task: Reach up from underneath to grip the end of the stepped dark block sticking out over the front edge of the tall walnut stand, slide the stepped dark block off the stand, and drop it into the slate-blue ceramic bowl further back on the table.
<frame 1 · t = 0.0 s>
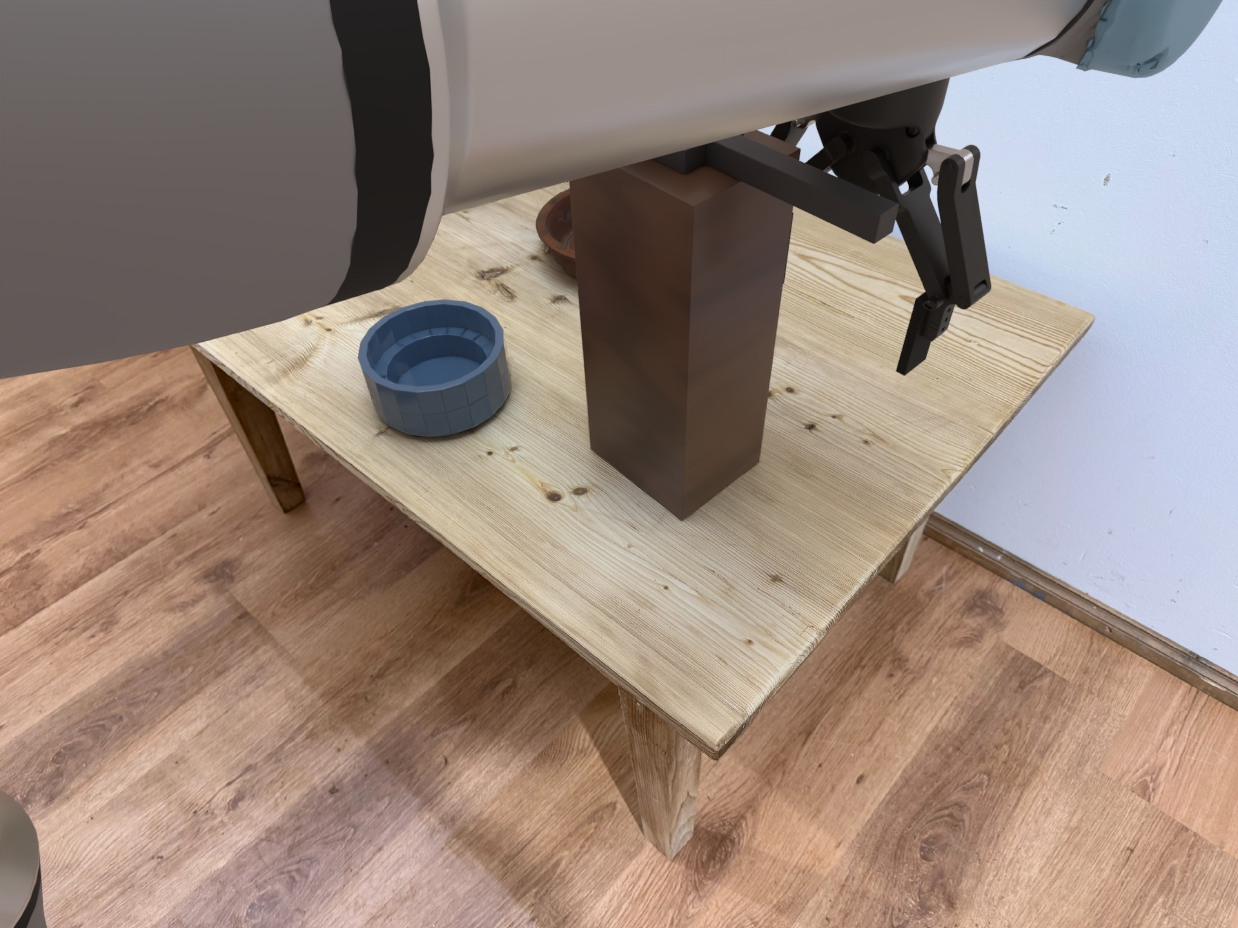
hand: (836, 325, 66), 15 cm above the table, tool pointing down, fingers open, 13 cm apart
bread roll: (581, 163, 116), on the table
dish: (614, 256, 101), on the table
stand: (674, 455, 78), on the table
stepped dark block: (743, 173, 53), point 30 cm above the table, touching stand
onion: (464, 193, 112), on the table
bowl: (443, 393, 85), on the table
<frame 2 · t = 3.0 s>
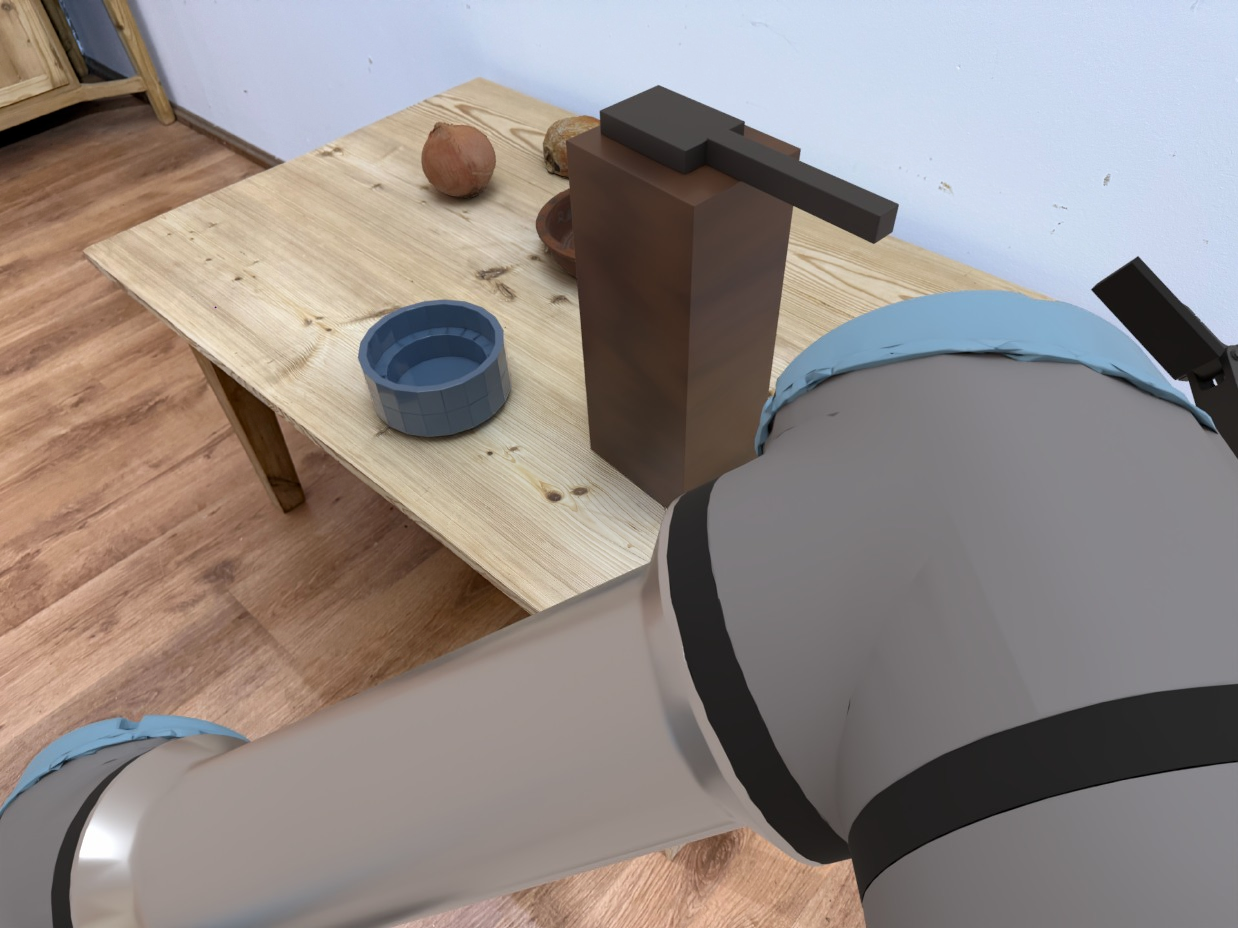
hand: (1050, 334, 42), 30 cm above the table, tool pointing upward, fingers open, 13 cm apart
nothing on the table moved.
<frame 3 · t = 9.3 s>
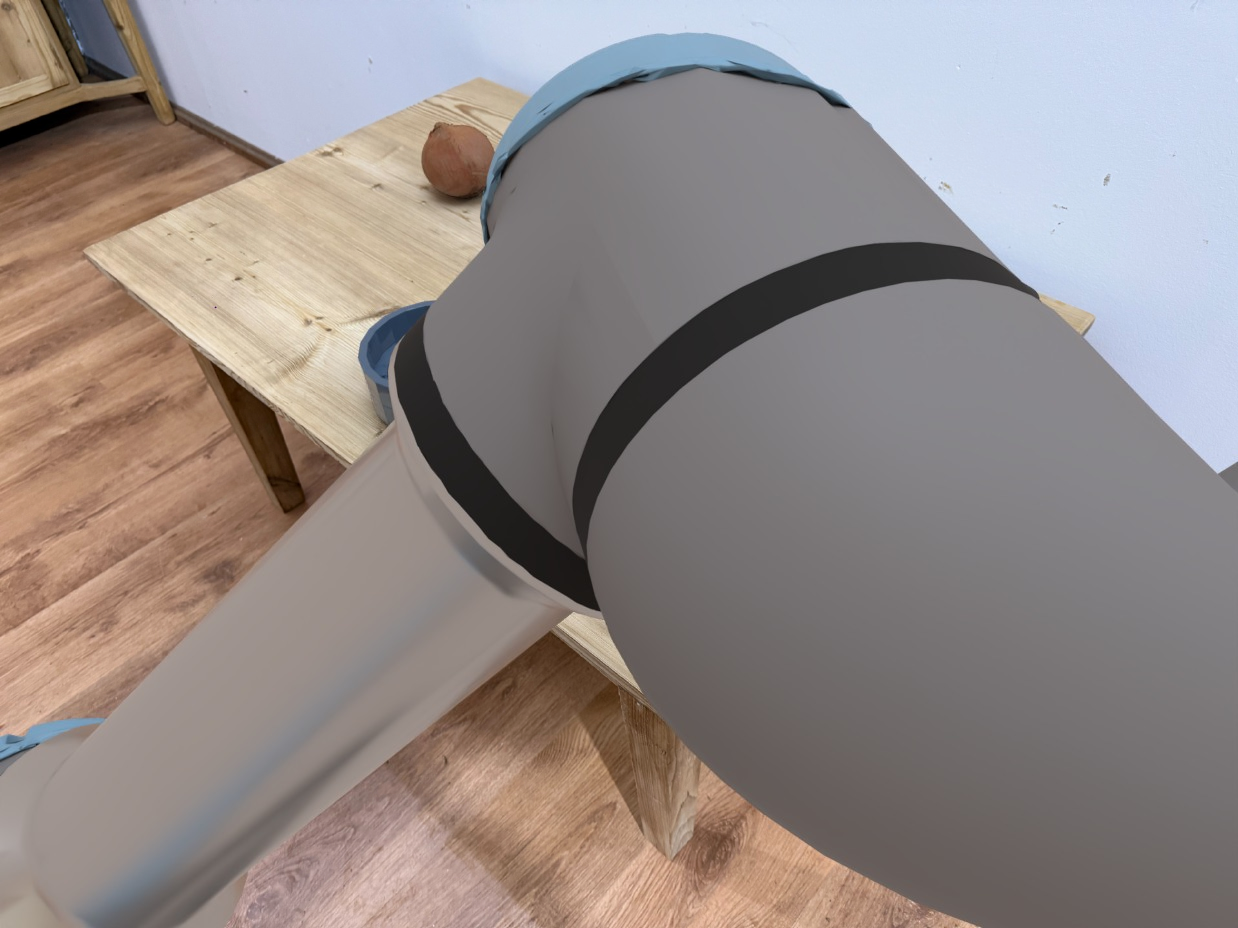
hand: (783, 131, 49), 34 cm above the table, tool pointing upward, fingers closed on stepped dark block, 2 cm apart
stepped dark block: (743, 173, 53), point 30 cm above the table, touching gripper, stand
everything else where it was.
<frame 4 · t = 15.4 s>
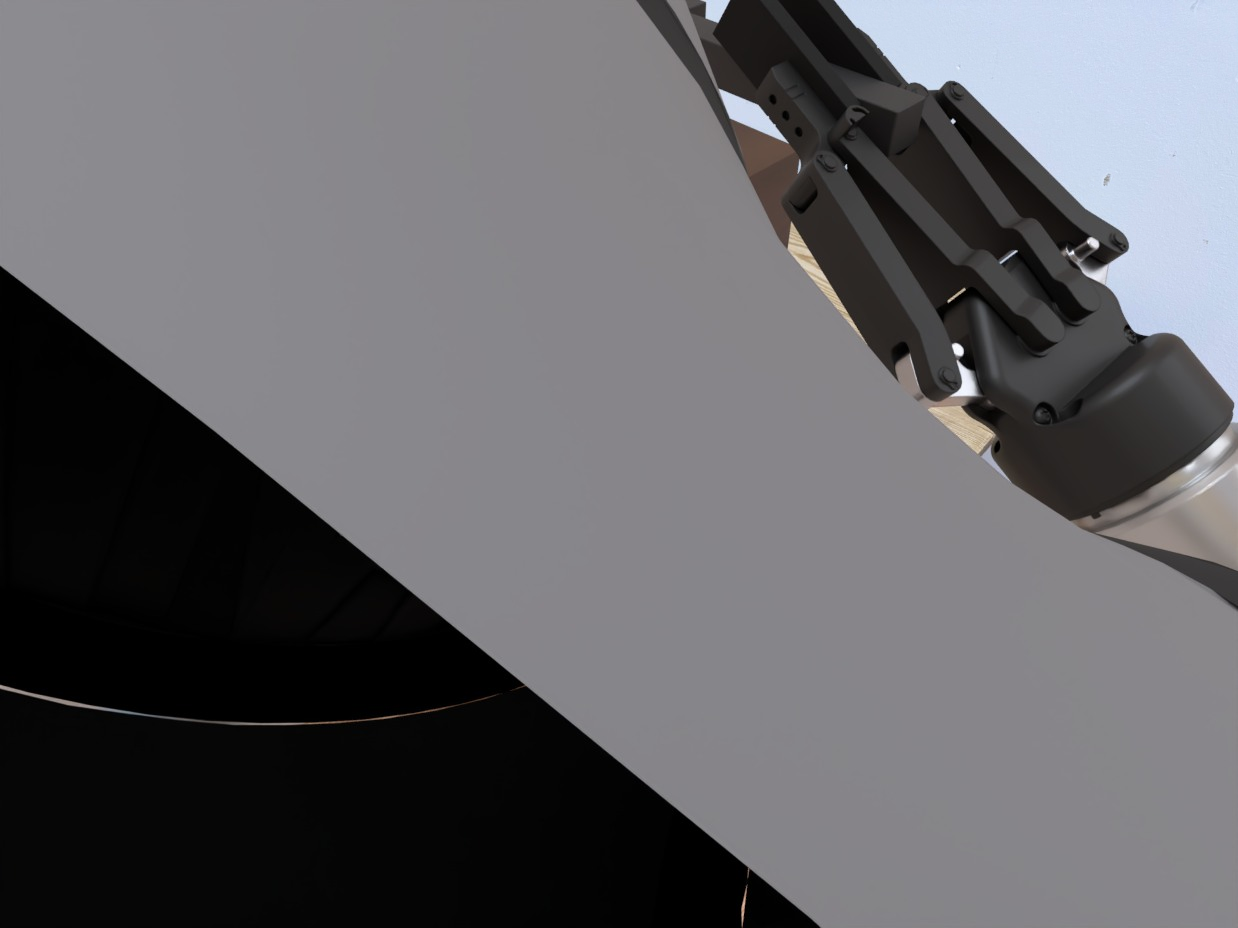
stepped dark block: (702, 71, 38), point 41 cm above the table, touching gripper
everything else where it was.
when the fingers open (40 cm above the table, at t = 21.4 s): stepped dark block drops 29 cm and tips over, resting on bowl.
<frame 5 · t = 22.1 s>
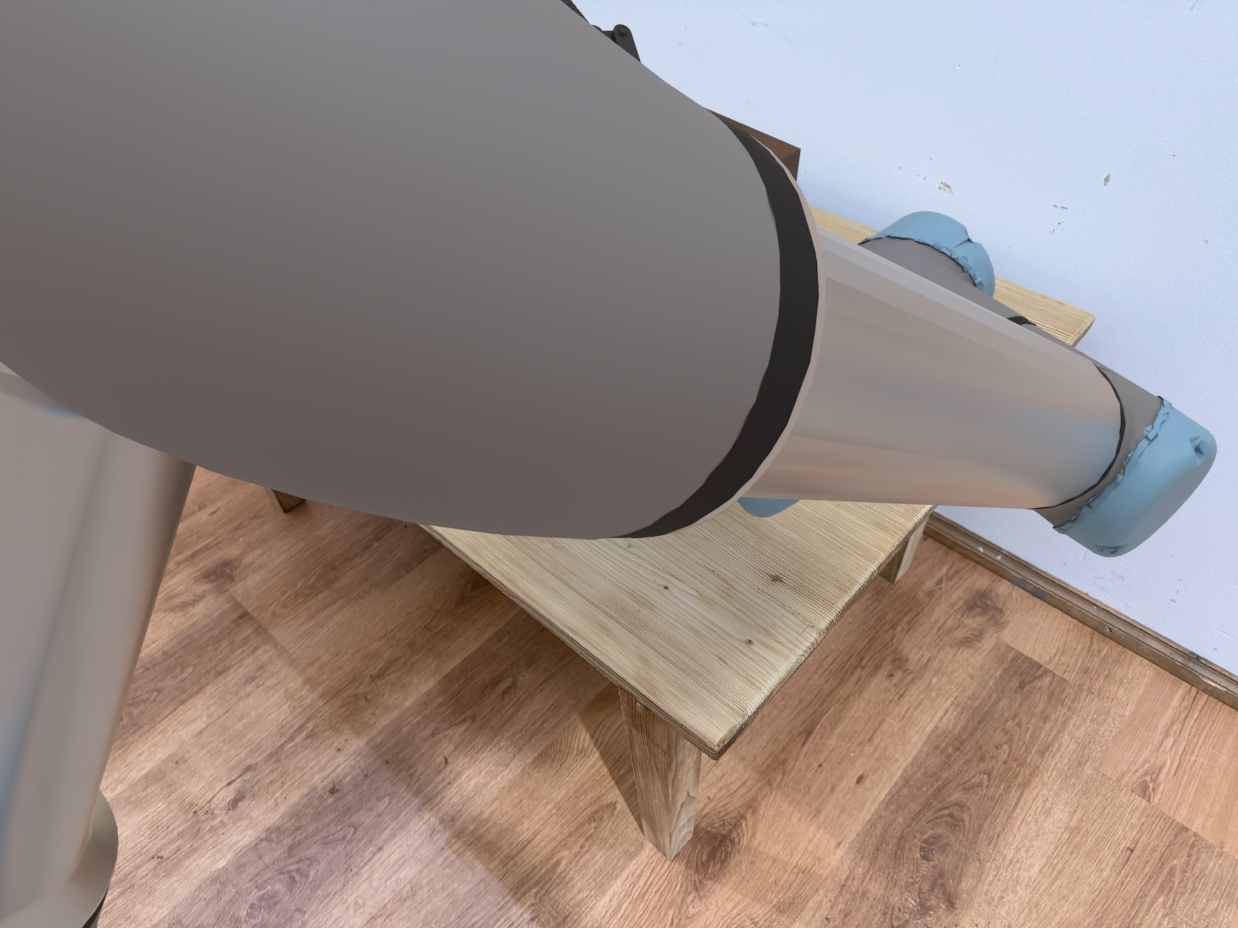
stepped dark block: (462, 376, 76), point 7 cm above the table, tilted 34°, touching bowl
everything else where it was.
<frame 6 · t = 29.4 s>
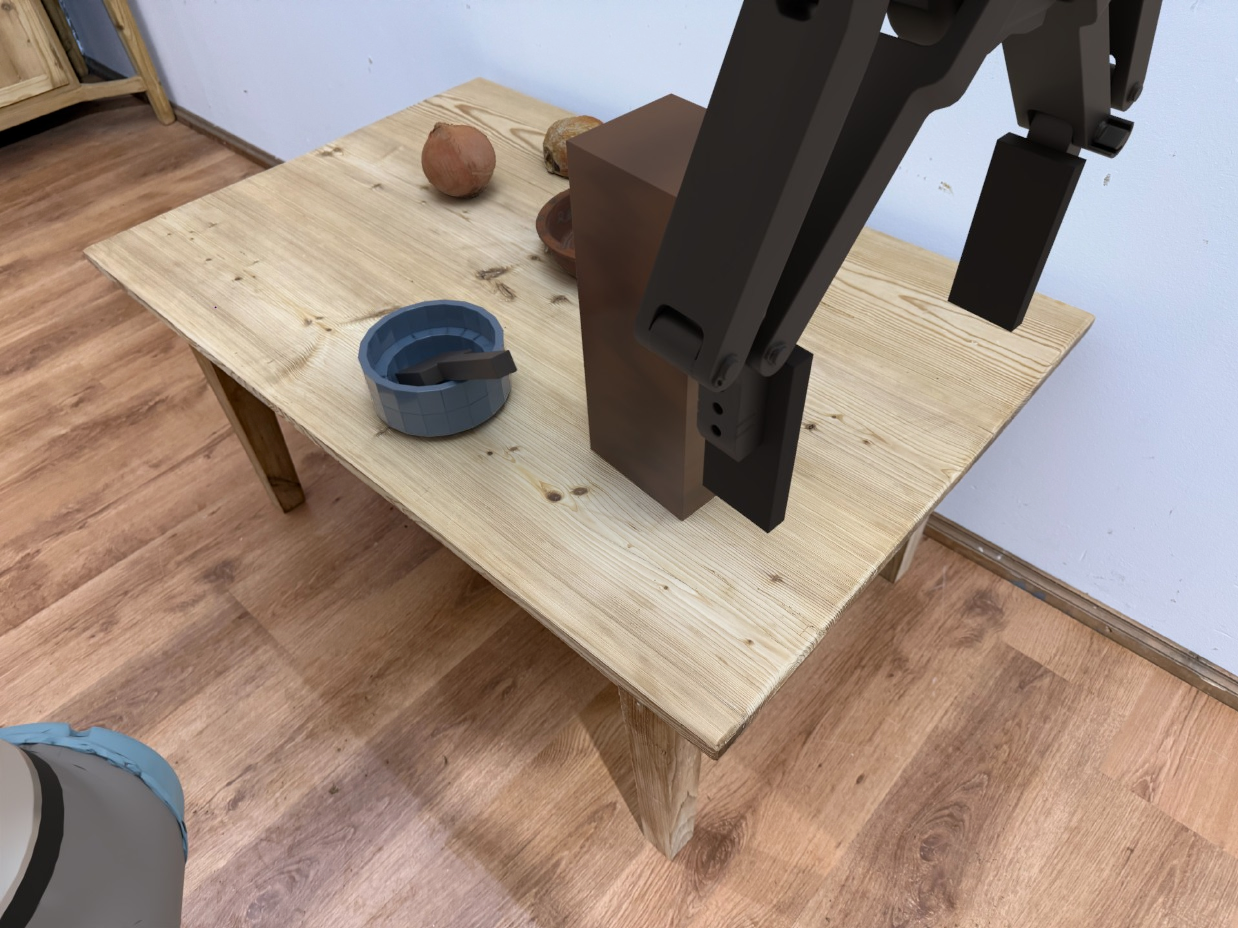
hand: (875, 398, 29), 37 cm above the table, tool pointing down, fingers open, 13 cm apart
nothing on the table moved.
at the end: stepped dark block 6.4 cm from the bowl (horizontally); stepped dark block point 6.8 cm above the table; the gripper is holding nothing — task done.
